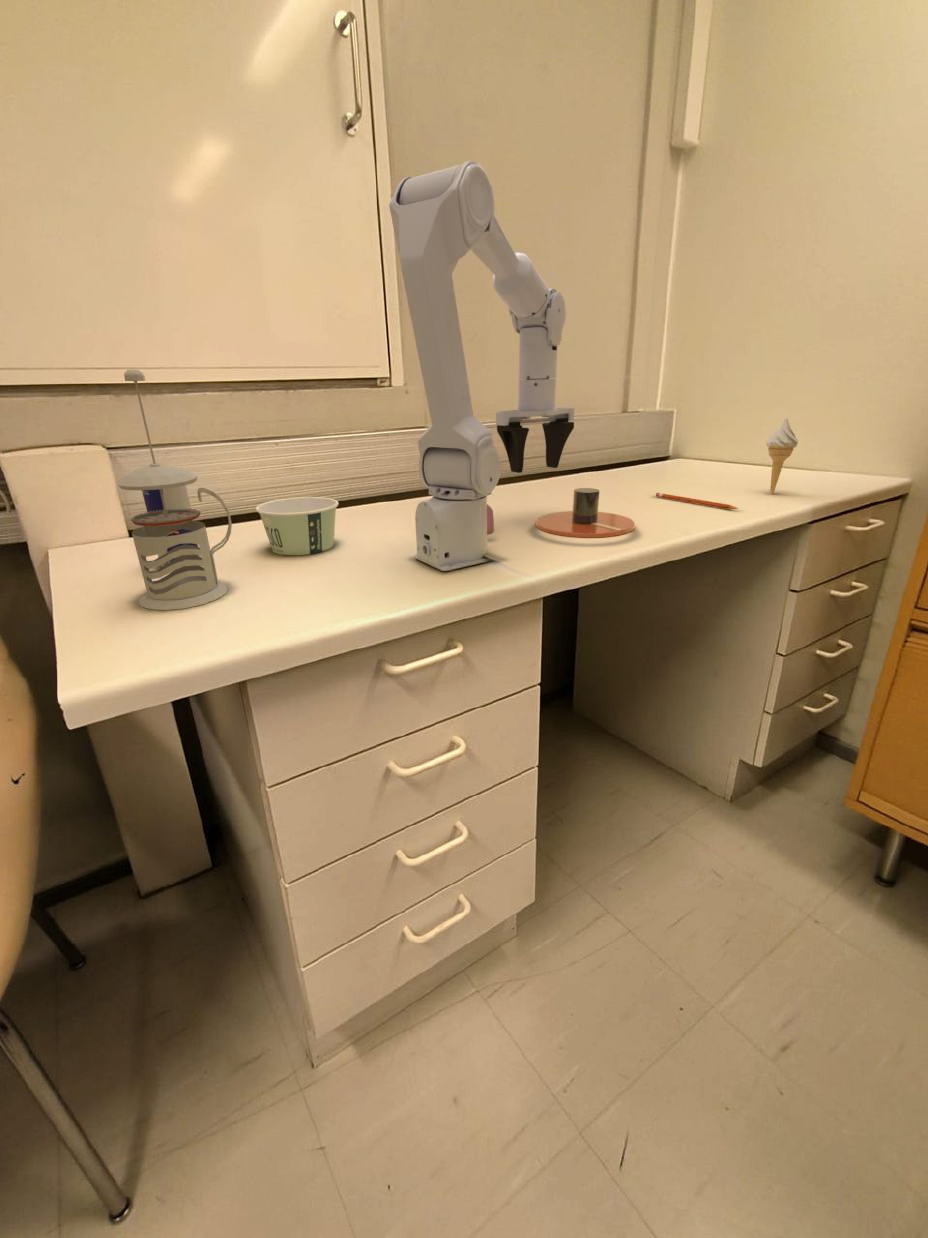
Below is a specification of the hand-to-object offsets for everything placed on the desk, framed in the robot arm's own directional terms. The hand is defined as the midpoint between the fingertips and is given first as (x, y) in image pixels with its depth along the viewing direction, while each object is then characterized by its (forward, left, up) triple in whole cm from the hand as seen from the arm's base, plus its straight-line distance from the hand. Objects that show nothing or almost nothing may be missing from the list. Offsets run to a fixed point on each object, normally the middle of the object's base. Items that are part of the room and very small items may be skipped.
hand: (534, 469), depth 92 cm
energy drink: (-53, +14, -10) cm, 56 cm away
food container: (-36, +12, -10) cm, 39 cm away
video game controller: (-13, +2, -10) cm, 16 cm away
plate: (+4, -8, -8) cm, 12 cm away
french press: (-54, 0, -10) cm, 55 cm away
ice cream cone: (+56, -10, -10) cm, 58 cm away
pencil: (+36, -6, -9) cm, 38 cm away
